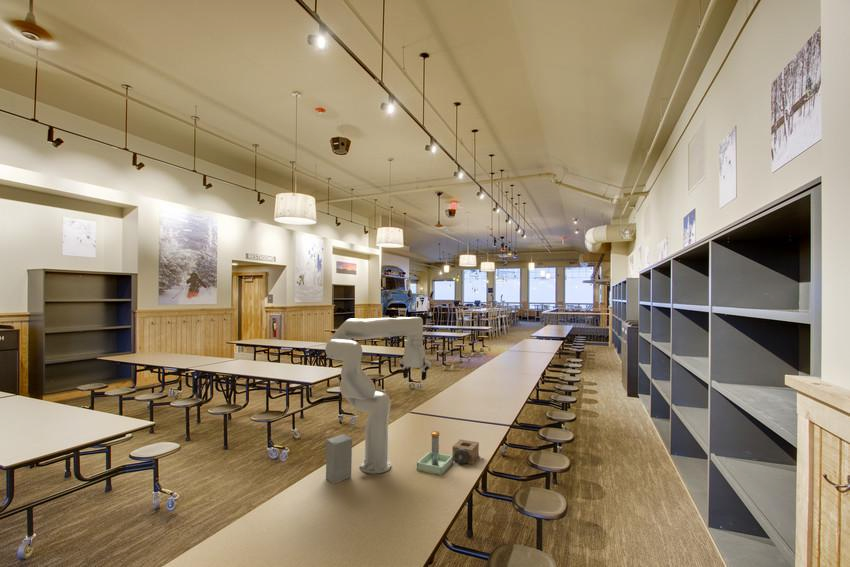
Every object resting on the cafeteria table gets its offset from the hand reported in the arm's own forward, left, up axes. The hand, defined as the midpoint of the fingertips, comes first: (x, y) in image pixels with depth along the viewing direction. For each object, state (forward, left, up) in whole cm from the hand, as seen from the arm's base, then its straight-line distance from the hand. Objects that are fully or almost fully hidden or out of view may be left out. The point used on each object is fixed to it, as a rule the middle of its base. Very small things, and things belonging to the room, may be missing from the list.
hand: (414, 378), depth 183 cm
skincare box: (-40, +14, -34) cm, 54 cm away
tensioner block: (0, -25, -33) cm, 42 cm away
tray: (-13, -16, -33) cm, 39 cm away
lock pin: (-13, -16, -33) cm, 39 cm away
